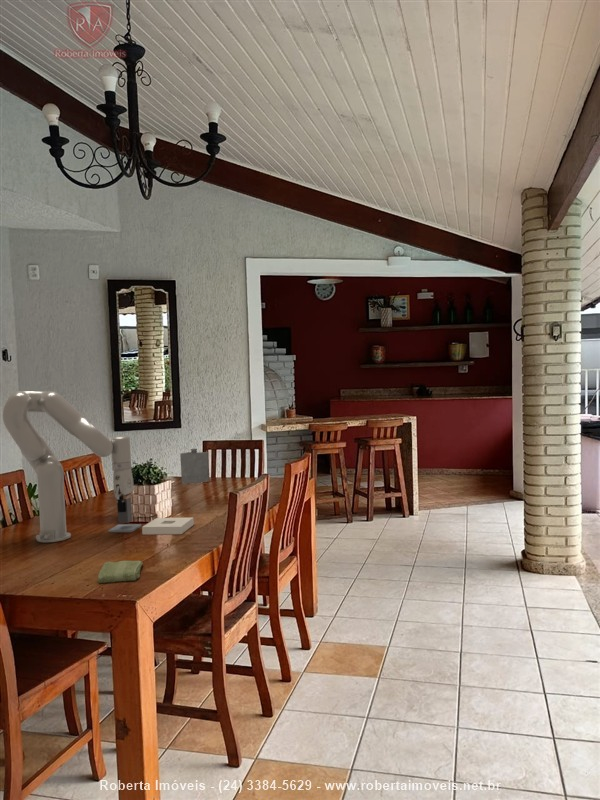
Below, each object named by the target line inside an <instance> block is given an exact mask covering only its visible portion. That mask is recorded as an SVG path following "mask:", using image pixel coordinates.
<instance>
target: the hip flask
mask: <svg viewBox="0 0 600 800" xmlns="http://www.w3.org/2000/svg"><path fill="white" fill-rule="evenodd" d="M179 457H180V473H181V474H180V475H181V477H180V478H181V484H182V485H187V484H186V483H201V482H207V481H211V480H210V479H211V478H210V460H209V459H210V457H209V452H208V451H204V452H203V451H202V452H201V451H200V452H198V448H190V451H188V452H181V453H180V456H179ZM201 484H202V483H201Z"/></svg>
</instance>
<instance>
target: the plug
mask: <svg viewBox="0 0 600 800" xmlns="http://www.w3.org/2000/svg"><path fill="white" fill-rule="evenodd" d="M119 495H123V494H122V493H120V494H119ZM120 497H122V496H120ZM124 502H125V503H126V512H118V503H117V502H116V509H117V510H116V511H117V523H118V524H129V523H130V522H132V521H133V512H132V493H131V494H127V495H125V500H124Z"/></svg>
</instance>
